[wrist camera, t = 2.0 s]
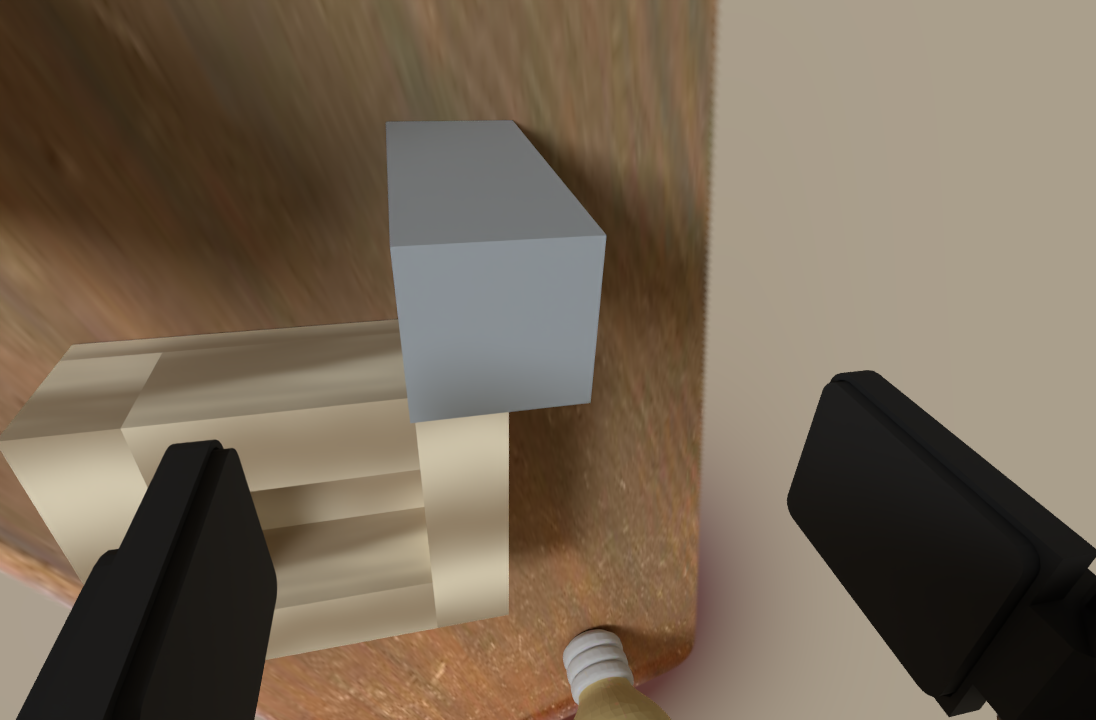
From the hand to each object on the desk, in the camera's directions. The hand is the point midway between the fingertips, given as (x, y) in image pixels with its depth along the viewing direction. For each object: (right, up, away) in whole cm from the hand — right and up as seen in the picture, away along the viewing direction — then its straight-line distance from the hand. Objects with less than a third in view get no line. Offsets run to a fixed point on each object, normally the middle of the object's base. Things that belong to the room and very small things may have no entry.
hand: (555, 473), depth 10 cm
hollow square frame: (-10, -2, +15) cm, 18 cm away
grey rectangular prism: (-3, +8, +10) cm, 13 cm away
